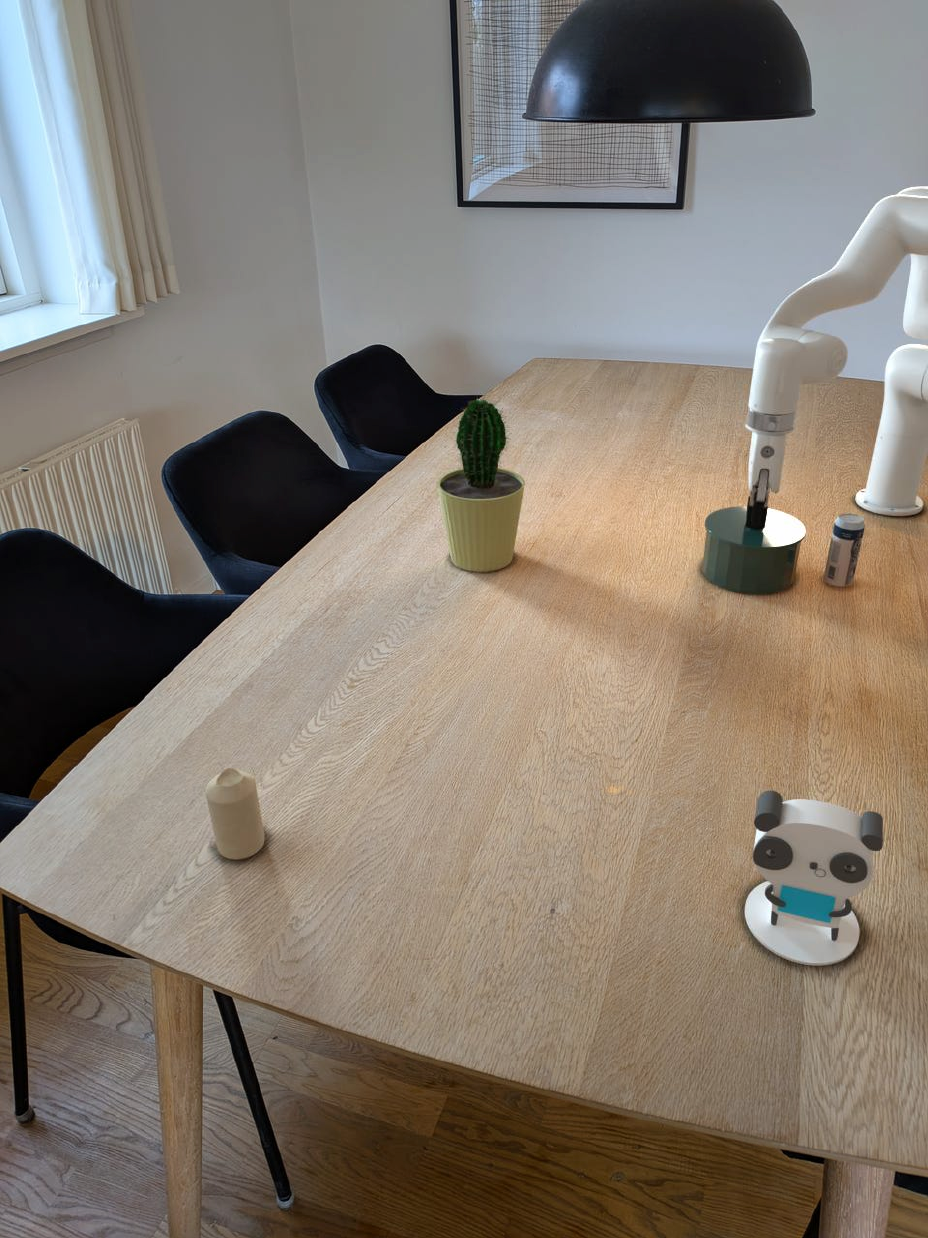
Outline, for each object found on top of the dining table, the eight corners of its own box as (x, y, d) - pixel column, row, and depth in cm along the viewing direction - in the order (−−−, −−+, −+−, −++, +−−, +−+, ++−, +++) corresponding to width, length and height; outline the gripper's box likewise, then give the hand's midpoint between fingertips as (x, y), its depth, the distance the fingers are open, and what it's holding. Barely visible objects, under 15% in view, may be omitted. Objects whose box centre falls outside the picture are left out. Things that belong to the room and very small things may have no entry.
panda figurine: (731, 945, 96) (751, 835, 88) (744, 868, 105) (764, 762, 97) (857, 979, 92) (890, 867, 84) (859, 896, 101) (889, 788, 93)
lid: (706, 508, 170) (710, 473, 167) (802, 516, 166) (809, 481, 163) (701, 547, 156) (706, 510, 153) (806, 558, 152) (813, 520, 149)
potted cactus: (422, 559, 172) (414, 398, 157) (478, 532, 181) (476, 378, 166) (484, 586, 163) (483, 418, 147) (540, 555, 172) (545, 395, 157)
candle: (220, 828, 112) (207, 762, 107) (267, 825, 112) (256, 759, 107) (213, 862, 107) (199, 794, 102) (262, 858, 107) (250, 791, 102)
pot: (704, 549, 173) (709, 506, 169) (792, 558, 170) (800, 514, 166) (699, 588, 161) (705, 543, 156) (795, 598, 157) (803, 553, 153)
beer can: (854, 589, 159) (868, 525, 153) (824, 587, 160) (837, 523, 154) (850, 576, 163) (863, 513, 157) (821, 574, 164) (833, 511, 158)
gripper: (796, 437, 143) (778, 546, 153) (793, 404, 157) (777, 506, 166) (745, 433, 145) (731, 541, 154) (747, 402, 159) (733, 502, 168)
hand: (755, 522), depth 160 cm, fingers closed on lid, 2 cm apart
